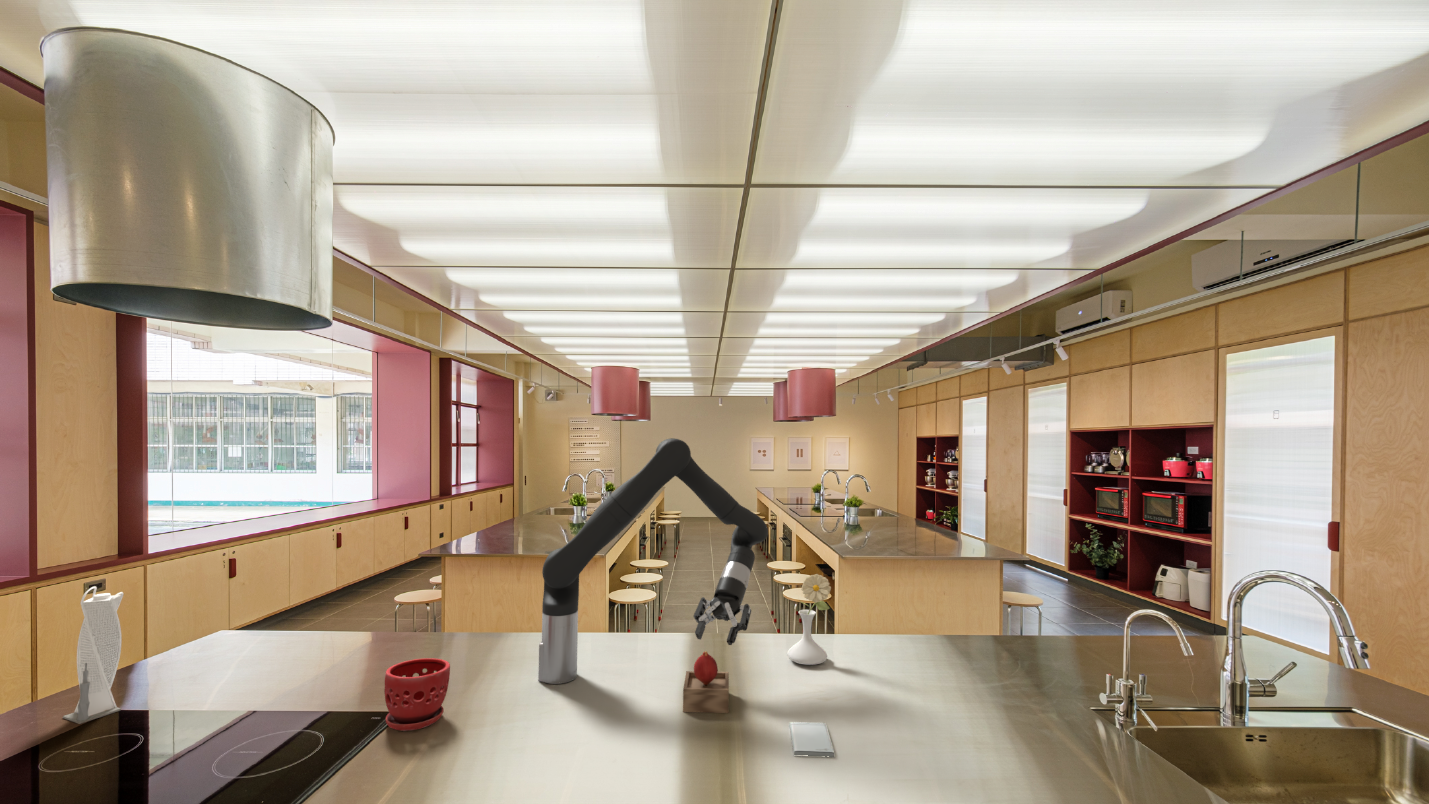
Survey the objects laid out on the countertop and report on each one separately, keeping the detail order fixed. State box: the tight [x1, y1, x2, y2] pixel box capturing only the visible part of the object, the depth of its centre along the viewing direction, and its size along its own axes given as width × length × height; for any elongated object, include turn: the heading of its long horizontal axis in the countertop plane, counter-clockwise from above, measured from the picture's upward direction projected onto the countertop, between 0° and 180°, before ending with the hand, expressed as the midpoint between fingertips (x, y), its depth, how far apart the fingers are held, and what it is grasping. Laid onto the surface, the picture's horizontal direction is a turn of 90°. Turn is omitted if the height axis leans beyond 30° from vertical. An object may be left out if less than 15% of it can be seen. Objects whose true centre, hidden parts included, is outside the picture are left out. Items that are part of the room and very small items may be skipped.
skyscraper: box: [62, 585, 125, 725], centre depth 138 cm, size 8×8×28 cm
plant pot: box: [383, 657, 451, 732], centre depth 135 cm, size 13×13×12 cm
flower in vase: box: [786, 573, 832, 666], centre depth 172 cm, size 13×11×25 cm
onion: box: [693, 651, 719, 685], centre depth 145 cm, size 6×6×8 cm
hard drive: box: [788, 721, 836, 758], centre depth 127 cm, size 2×8×12 cm
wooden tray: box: [682, 670, 730, 714], centre depth 145 cm, size 11×11×5 cm
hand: (713, 640), depth 148 cm, fingers open, 8 cm apart
